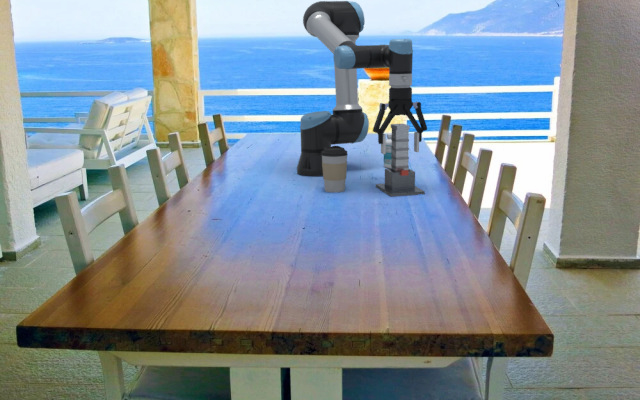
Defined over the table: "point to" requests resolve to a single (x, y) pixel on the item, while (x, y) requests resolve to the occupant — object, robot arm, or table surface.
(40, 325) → the table surface
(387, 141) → the pill bottle
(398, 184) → the stand
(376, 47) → the robot arm
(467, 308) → the table surface
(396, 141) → the column
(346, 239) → the table surface
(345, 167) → the coffee cup
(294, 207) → the table surface
